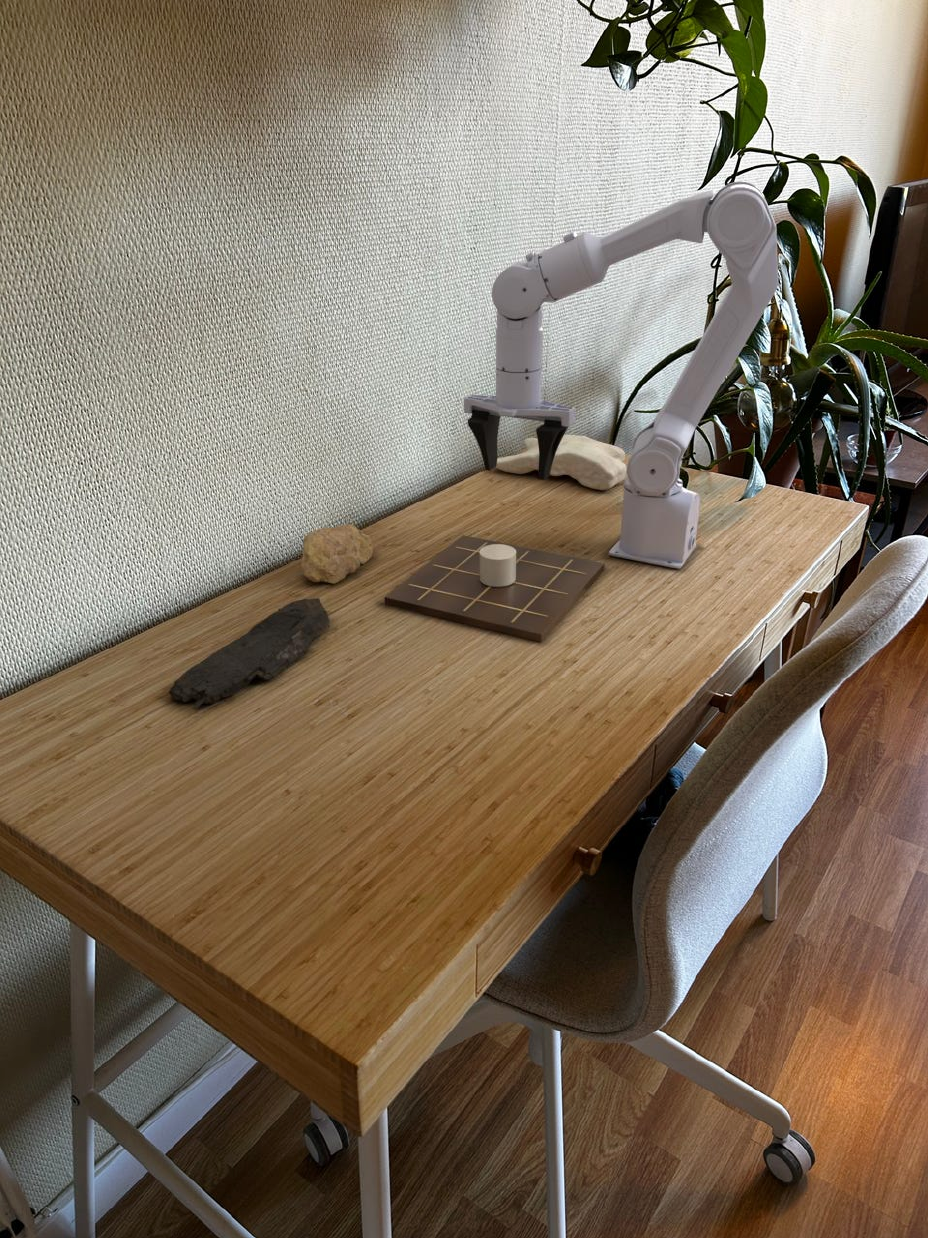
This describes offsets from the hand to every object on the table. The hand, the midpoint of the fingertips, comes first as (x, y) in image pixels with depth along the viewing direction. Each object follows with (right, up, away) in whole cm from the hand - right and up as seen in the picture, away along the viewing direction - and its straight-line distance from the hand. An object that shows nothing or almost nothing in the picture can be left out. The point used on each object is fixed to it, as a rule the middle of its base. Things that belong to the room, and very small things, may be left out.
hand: (517, 472), depth 119 cm
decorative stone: (+10, +5, +29) cm, 31 cm away
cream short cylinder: (-3, -14, -8) cm, 17 cm away
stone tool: (-23, -13, -3) cm, 26 cm away
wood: (-28, -23, -22) cm, 43 cm away
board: (-3, -15, -8) cm, 17 cm away
